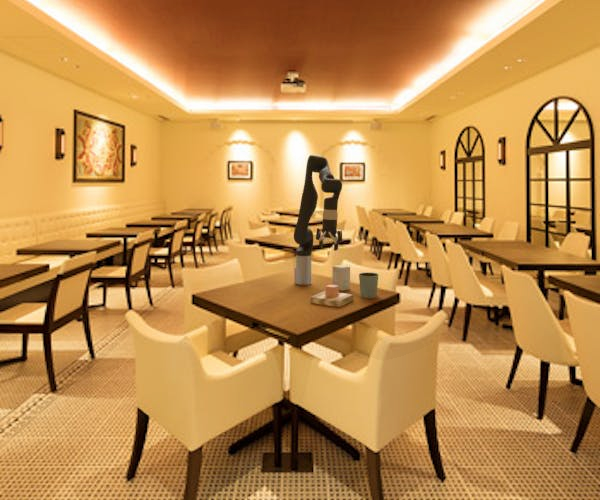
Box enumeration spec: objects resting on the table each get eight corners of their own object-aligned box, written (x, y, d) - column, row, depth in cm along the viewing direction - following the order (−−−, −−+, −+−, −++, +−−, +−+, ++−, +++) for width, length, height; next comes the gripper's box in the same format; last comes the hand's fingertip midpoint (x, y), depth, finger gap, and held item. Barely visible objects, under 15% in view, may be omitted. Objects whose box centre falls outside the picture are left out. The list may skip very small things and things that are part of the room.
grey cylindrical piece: (379, 298, 242) (380, 275, 241) (360, 298, 241) (361, 276, 240) (375, 293, 252) (375, 272, 251) (356, 294, 251) (357, 272, 250)
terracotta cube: (325, 296, 235) (325, 286, 234) (329, 294, 239) (330, 284, 238) (334, 297, 232) (334, 287, 231) (338, 295, 236) (338, 285, 235)
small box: (350, 289, 263) (350, 266, 261) (342, 290, 259) (342, 267, 257) (340, 286, 269) (340, 264, 267) (332, 288, 265) (332, 265, 263)
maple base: (310, 302, 233) (310, 296, 233) (325, 296, 247) (325, 290, 246) (339, 307, 225) (339, 301, 224) (353, 300, 238) (353, 294, 238)
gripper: (314, 217, 239) (312, 248, 242) (338, 219, 231) (336, 252, 234) (321, 216, 245) (320, 246, 248) (345, 219, 237) (343, 250, 240)
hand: (328, 249), depth 241 cm, fingers open, 8 cm apart
